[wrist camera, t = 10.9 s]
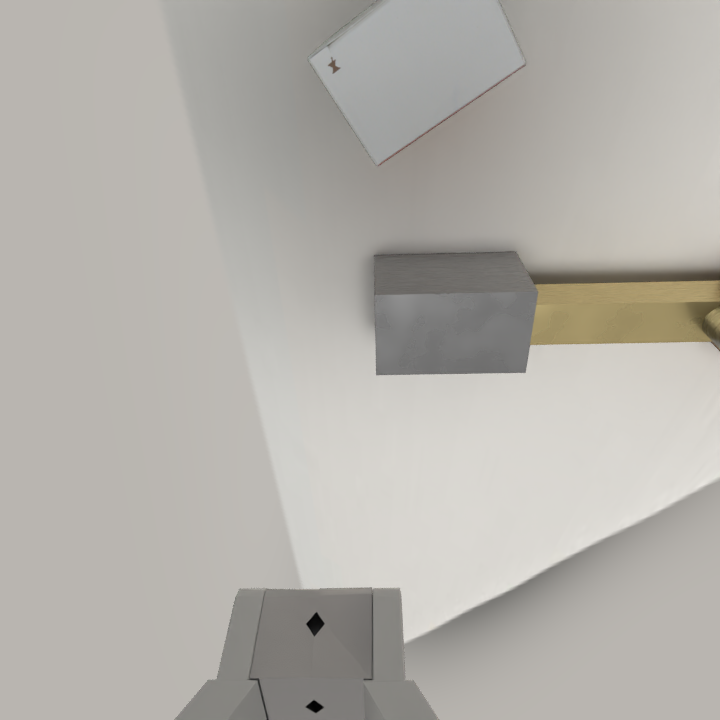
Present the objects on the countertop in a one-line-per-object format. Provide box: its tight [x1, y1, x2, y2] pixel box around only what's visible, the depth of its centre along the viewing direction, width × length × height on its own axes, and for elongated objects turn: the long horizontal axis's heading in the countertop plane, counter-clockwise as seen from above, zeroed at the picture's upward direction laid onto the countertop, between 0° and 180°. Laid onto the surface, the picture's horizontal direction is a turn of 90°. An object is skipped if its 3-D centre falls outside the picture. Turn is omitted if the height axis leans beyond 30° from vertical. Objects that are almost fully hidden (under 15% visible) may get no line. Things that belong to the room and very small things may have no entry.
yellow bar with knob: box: [530, 281, 720, 349], centre depth 36 cm, size 3×20×8 cm, turn 92°
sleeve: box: [374, 252, 538, 375], centre depth 39 cm, size 6×10×6 cm, turn 92°
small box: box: [308, 0, 526, 166], centre depth 28 cm, size 8×6×10 cm
